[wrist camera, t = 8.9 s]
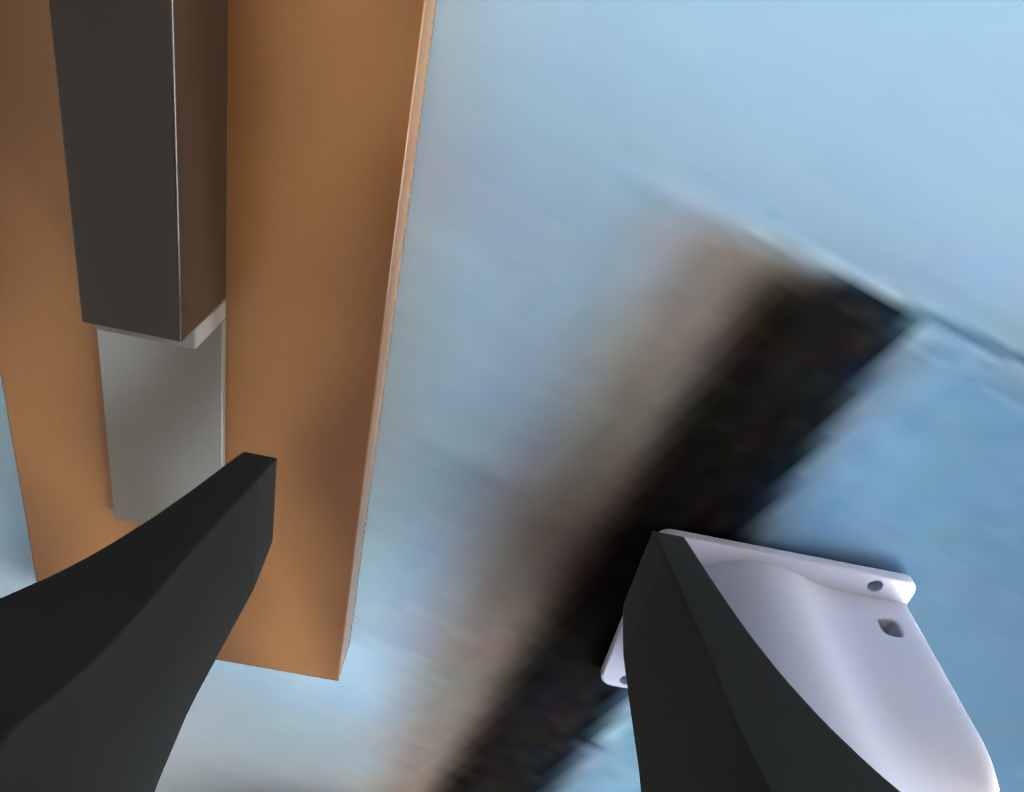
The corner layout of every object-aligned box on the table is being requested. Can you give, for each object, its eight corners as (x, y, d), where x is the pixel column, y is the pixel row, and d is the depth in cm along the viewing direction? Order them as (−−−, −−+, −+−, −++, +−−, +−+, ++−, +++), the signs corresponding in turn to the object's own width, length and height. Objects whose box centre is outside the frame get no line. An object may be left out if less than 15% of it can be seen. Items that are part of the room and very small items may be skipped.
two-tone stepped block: (229, -34, 16) (171, -36, 13) (225, 533, 24) (189, 596, 22) (66, -72, 16) (-23, -81, 13) (119, 513, 24) (69, 574, 22)
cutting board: (455, -138, 16) (445, -150, 15) (349, 643, 29) (338, 681, 28) (-50, -263, 16) (-117, -289, 14) (71, 594, 29) (44, 629, 27)
